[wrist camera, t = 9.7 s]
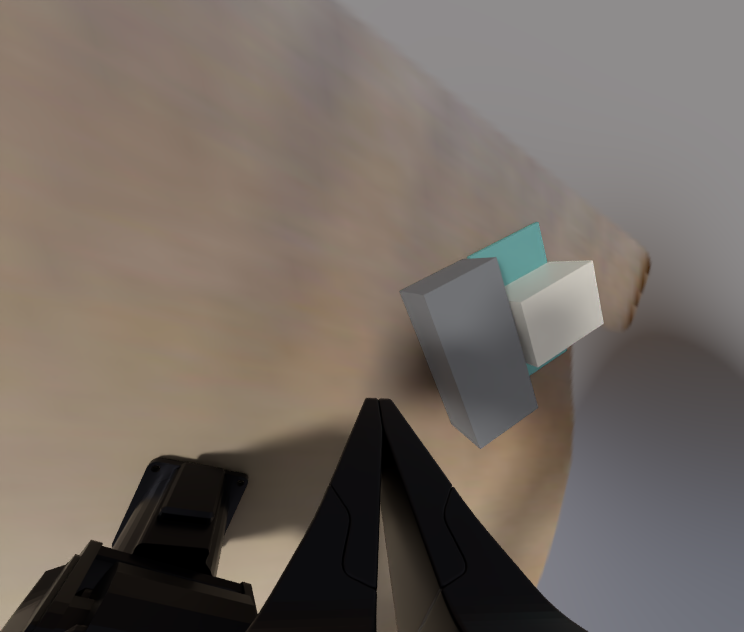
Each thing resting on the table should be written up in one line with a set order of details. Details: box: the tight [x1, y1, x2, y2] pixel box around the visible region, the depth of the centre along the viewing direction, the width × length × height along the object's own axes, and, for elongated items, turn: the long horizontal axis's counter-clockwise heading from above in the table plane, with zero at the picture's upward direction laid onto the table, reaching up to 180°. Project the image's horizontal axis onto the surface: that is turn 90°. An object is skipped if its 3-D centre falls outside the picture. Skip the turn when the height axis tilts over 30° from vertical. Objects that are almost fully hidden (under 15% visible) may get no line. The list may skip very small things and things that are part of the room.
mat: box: [467, 222, 567, 376], centre depth 27 cm, size 8×14×1 cm, turn 24°
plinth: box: [400, 257, 538, 449], centre depth 24 cm, size 6×14×4 cm, turn 24°
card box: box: [505, 260, 604, 367], centre depth 25 cm, size 4×6×8 cm
